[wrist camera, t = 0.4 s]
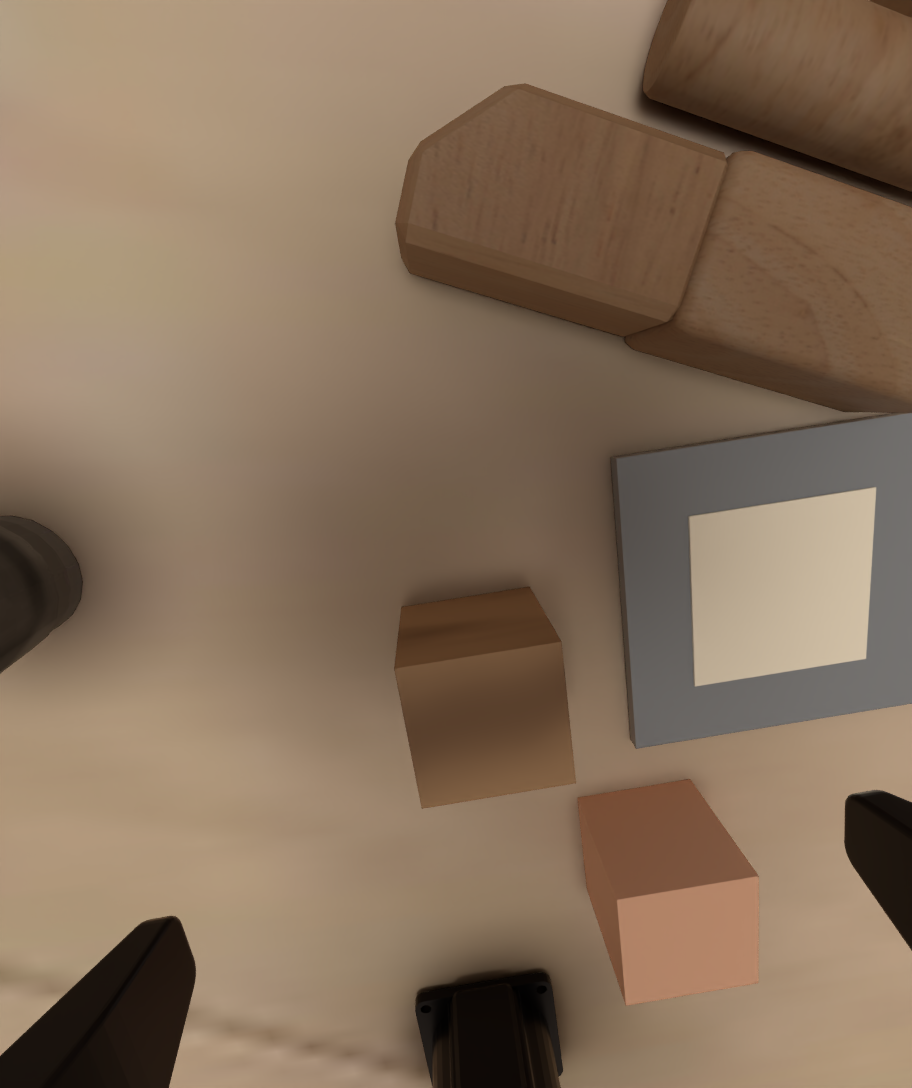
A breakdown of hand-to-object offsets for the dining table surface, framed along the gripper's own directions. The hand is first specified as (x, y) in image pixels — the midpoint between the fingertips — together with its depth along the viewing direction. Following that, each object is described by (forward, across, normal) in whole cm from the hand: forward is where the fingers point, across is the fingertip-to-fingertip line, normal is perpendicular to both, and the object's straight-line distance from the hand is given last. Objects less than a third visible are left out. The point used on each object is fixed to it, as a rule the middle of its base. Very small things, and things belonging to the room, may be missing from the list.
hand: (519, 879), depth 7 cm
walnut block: (+14, 0, +3) cm, 14 cm away
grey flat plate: (+14, -14, +2) cm, 20 cm away
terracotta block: (+14, -6, +13) cm, 20 cm away
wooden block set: (+14, -11, -15) cm, 23 cm away
